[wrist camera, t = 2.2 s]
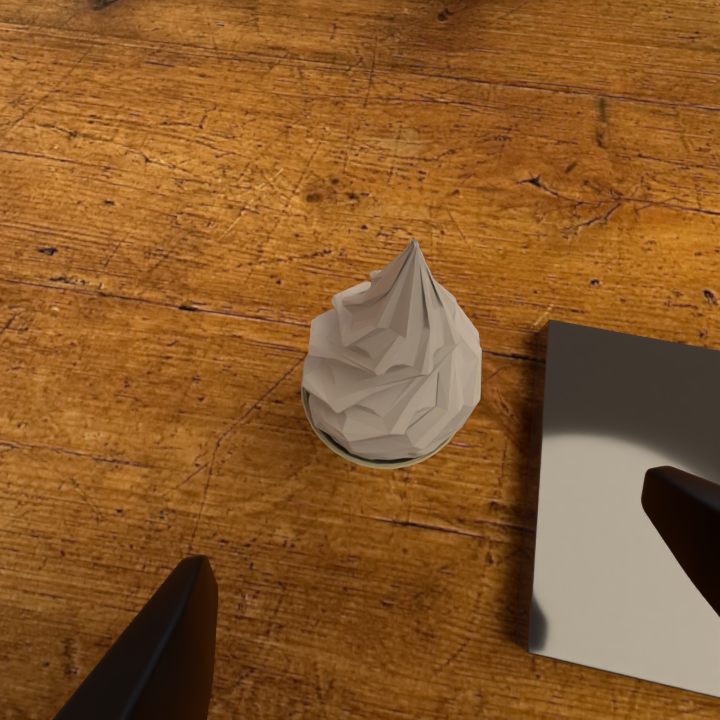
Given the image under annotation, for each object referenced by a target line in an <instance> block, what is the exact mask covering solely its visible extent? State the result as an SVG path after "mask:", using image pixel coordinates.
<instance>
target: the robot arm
mask: <svg viewBox="0 0 720 720" xmlns="http://www.w3.org/2000/svg"><path fill="white" fill-rule="evenodd" d="M641 504H642V507H643V510H644V512H645V513H646V515H647V516H648V518H649V519H650V521H651V522H652V524H653V525H654V527H655V528H656V530H657V531H658V533H659V534H660V536H661V537H662V539H663V540H664V542H665V543H666V545H667V546H668V548H669V549H670V551H671V553H672V554H673V556H674V557H675V559H676V560H677V562H678V563H679V565H680V566H681V568H682V569H683V570H684V572H685V573H686V575H687V576H688V578H689V579H690V580H691V582H692V583H693V584H694V586H695V587H696V588H697V590H698V591H699V592H700V593H701V595H702V596H703V597H704V598H705V600H706V601H707V602H708V603H709V605H710V606H711V607H712V608H713V610H714V611H715V612H716V613H717V615H718V616H719V617H720V485H719V484H716V483H714V482H711V481H709V480H706V479H703V478H701V477H698V476H696V475H693V474H690V473H688V472H685V471H683V470H680V469H677V468H675V467H672V466H668V465H665V466H659V467H654V468H650V469H648V470H647V471H646V473H645V477H644V483H643V489H642V495H641ZM217 609H218V586H217V582H216V579H215V577H214V574H213V571H212V568H211V566H210V563H209V560H208V558H207V557H206V556H205V555H196V556H191V557H186V558H184V559H183V560H181V562H180V563H179V564H178V565H177V566H176V568H175V569H174V570H173V571H172V573H171V574H170V575H169V576H168V578H167V579H166V580H165V581H164V582H163V584H162V585H161V586H160V587H159V589H158V590H157V591H156V592H155V594H154V595H153V596H152V597H151V599H150V600H149V601H148V602H147V603H146V605H145V606H144V607H143V608H142V610H141V611H140V612H139V613H138V615H137V616H136V617H135V618H134V619H133V621H132V622H131V623H130V624H129V626H128V627H127V628H126V629H125V631H124V632H123V633H122V634H121V636H120V637H119V638H118V639H117V640H116V642H115V643H114V644H113V645H112V647H111V648H110V649H109V650H108V652H107V653H106V654H105V655H104V657H103V658H102V659H101V660H100V661H99V663H98V664H97V665H96V666H95V668H94V669H93V670H92V671H91V673H90V674H89V675H88V676H87V678H86V679H85V680H84V681H83V682H82V684H81V685H80V686H79V687H78V689H77V690H76V691H75V692H74V694H73V695H72V696H71V697H70V699H69V700H68V701H67V702H66V703H65V705H64V706H63V707H62V708H61V710H60V711H59V712H58V713H57V715H56V716H55V717H54V718H53V720H207V715H208V709H209V703H210V697H211V690H212V683H213V673H214V658H215V642H216V626H217Z"/></svg>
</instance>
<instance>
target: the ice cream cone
mask: <svg viewBox="0 0 720 720" xmlns="http://www.w3.org/2000/svg"><path fill="white" fill-rule="evenodd" d="M370 278H371V282H363V283H361V284H359V285H356V286H354V287H352V288H349V289H347V290H345V291H343V292H340V293H338V294H336V295H335V296H334V297H333V299H332V300H331V302H332V304H333V306H334V307H335V309H332V310H330V311H327V312H325V313H323V314H321V315H319V316H317V317H316V318H314V319H313V320H312V322H311V331H310V341H309V352H308V354H307V356H306V358H305V361H304V366H303V372H302V377H301V397H302V404H303V407H304V411H305V414H306V417H307V419H308V421H309V423H310V425H311V427H312V428H313V430H314V432H315V433H316V434H317V435H318V437H319V438H320V439H321V440H322V442H323V443H324V444H326V445H327V446H328V447H329V448H330V449H331V450H332V451H333V452H335V453H337V454H338V455H340V456H341V457H343V458H345V459H346V460H349V461H351V462H354V463H356V464H359V465H361V466H366V467H371V468H376V469H395V468H401V467H408V466H411V465H413V464H416V463H419V462H422V461H424V460H426V459H427V458H429V457H431V456H433V455H434V454H436V453H437V452H438V451H439V450H441V449H442V448H443V447H444V446H445V445H446V444H447V443H448V442H449V441H450V440H451V438H452V437H453V436H454V435H455V433H456V432H457V431H458V430H459V429H460V428H461V427H462V426H463V424H464V423H465V421H466V420H467V418H468V417H469V416H470V414H471V413H472V411H473V410H474V408H475V407H476V405H477V404H478V402H479V401H480V393H481V355H482V349H481V347H480V342H479V333H478V331H477V330H476V328H475V327H474V326H473V324H472V323H471V322H470V320H469V319H468V317H467V316H466V315H465V313H464V312H463V311H462V309H461V308H460V307H459V305H458V304H457V303H456V298H455V297H454V296H453V295H452V294H451V293H449V292H448V291H447V290H446V289H445V288H443V287H442V286H441V285H440V284H439V283H437V282H436V281H435V280H434V278H433V276H432V274H431V272H430V270H429V268H428V266H427V264H426V262H425V259H424V257H423V254H422V252H421V249H420V247H419V245H418V242H417V240H416V239H415V240H414V238H413V241H410V242H409V244H408V247H407V248H406V249H405V250H404V251H403V252H402V253H401V254H399V255H398V256H397V257H396V258H395V259H394V260H393V261H392V262H390V263H389V264H388V265H387V266H386V267H385V268H384V269H383V270H375V271H373V272H371V273H370Z"/></svg>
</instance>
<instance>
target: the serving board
mask: <svg viewBox="0 0 720 720" xmlns="http://www.w3.org/2000/svg"><path fill="white" fill-rule="evenodd" d="M665 465H668V466H672V467H675V468H677V469H680V470H683V471H685V472H688V473H690V474H693V475H696V476H698V477H701V478H703V479H706V480H709V481H711V482H714V483H716V484H719V485H720V351H719V350H714V349H708V348H703V347H697V346H692V345H686V344H681V343H675V342H670V341H664V340H659V339H653V338H648V337H642V336H637V335H631V334H626V333H620V332H615V331H609V330H604V329H598V328H593V327H587V326H582V325H576V324H571V323H565V322H560V321H554V320H548V321H547V323H546V324H545V325H544V326H543V327H542V328H541V329H540V331H539V332H538V337H537V351H536V365H535V378H534V392H533V406H532V420H531V433H530V447H529V461H528V474H527V488H526V502H525V515H524V529H523V543H522V556H521V570H520V584H519V598H518V611H517V625H516V639H515V644H516V645H517V646H519V647H520V648H522V649H523V650H525V651H526V652H527V653H529V654H534V655H538V656H542V657H546V658H550V659H555V660H559V661H563V662H567V663H572V664H576V665H580V666H584V667H588V668H593V669H597V670H601V671H605V672H609V673H614V674H618V675H622V676H626V677H631V678H635V679H639V680H643V681H647V682H652V683H656V684H660V685H664V686H668V687H673V688H677V689H681V690H685V691H689V692H694V693H698V694H702V695H706V696H711V697H715V698H719V699H720V617H719V616H718V615H717V613H716V612H715V611H714V610H713V608H712V607H711V606H710V605H709V603H708V602H707V601H706V600H705V598H704V597H703V596H702V595H701V593H700V592H699V591H698V590H697V588H696V587H695V586H694V584H693V583H692V582H691V580H690V579H689V578H688V576H687V575H686V573H685V572H684V570H683V569H682V568H681V566H680V565H679V563H678V562H677V560H676V559H675V557H674V556H673V554H672V553H671V551H670V549H669V548H668V546H667V545H666V543H665V542H664V540H663V539H662V537H661V536H660V534H659V533H658V531H657V530H656V528H655V527H654V525H653V524H652V522H651V521H650V519H649V518H648V516H647V515H646V513H645V512H644V510H643V507H642V504H641V495H642V489H643V483H644V477H645V473H646V471H647V470H648V469H650V468H654V467H659V466H665Z"/></svg>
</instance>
